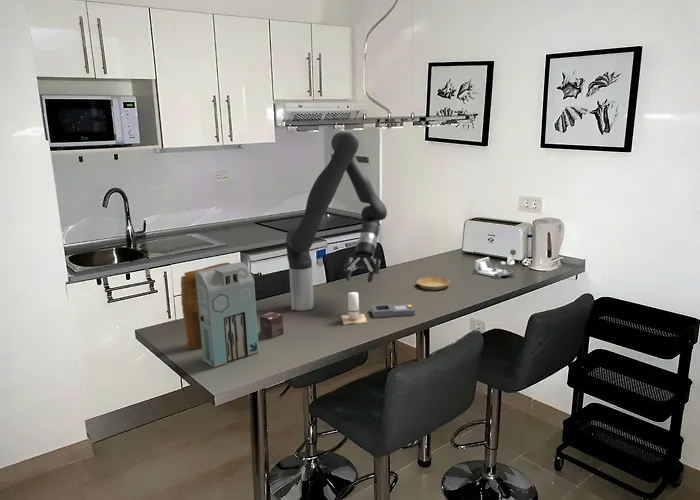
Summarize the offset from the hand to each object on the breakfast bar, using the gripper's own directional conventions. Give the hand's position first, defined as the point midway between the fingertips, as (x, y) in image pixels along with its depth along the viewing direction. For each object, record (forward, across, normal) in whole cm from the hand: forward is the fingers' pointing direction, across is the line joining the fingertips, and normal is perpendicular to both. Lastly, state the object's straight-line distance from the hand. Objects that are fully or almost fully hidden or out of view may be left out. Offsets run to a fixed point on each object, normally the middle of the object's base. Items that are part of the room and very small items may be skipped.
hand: (358, 281), depth 218 cm
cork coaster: (+14, 0, +5) cm, 15 cm away
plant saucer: (-22, +21, +41) cm, 51 cm away
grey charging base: (+6, +12, +13) cm, 19 cm away
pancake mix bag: (+40, -41, -19) cm, 60 cm away
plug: (+14, 0, +5) cm, 15 cm away
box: (+30, -24, -10) cm, 40 cm away
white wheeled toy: (-40, +47, +60) cm, 86 cm away
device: (+45, -28, -25) cm, 59 cm away
